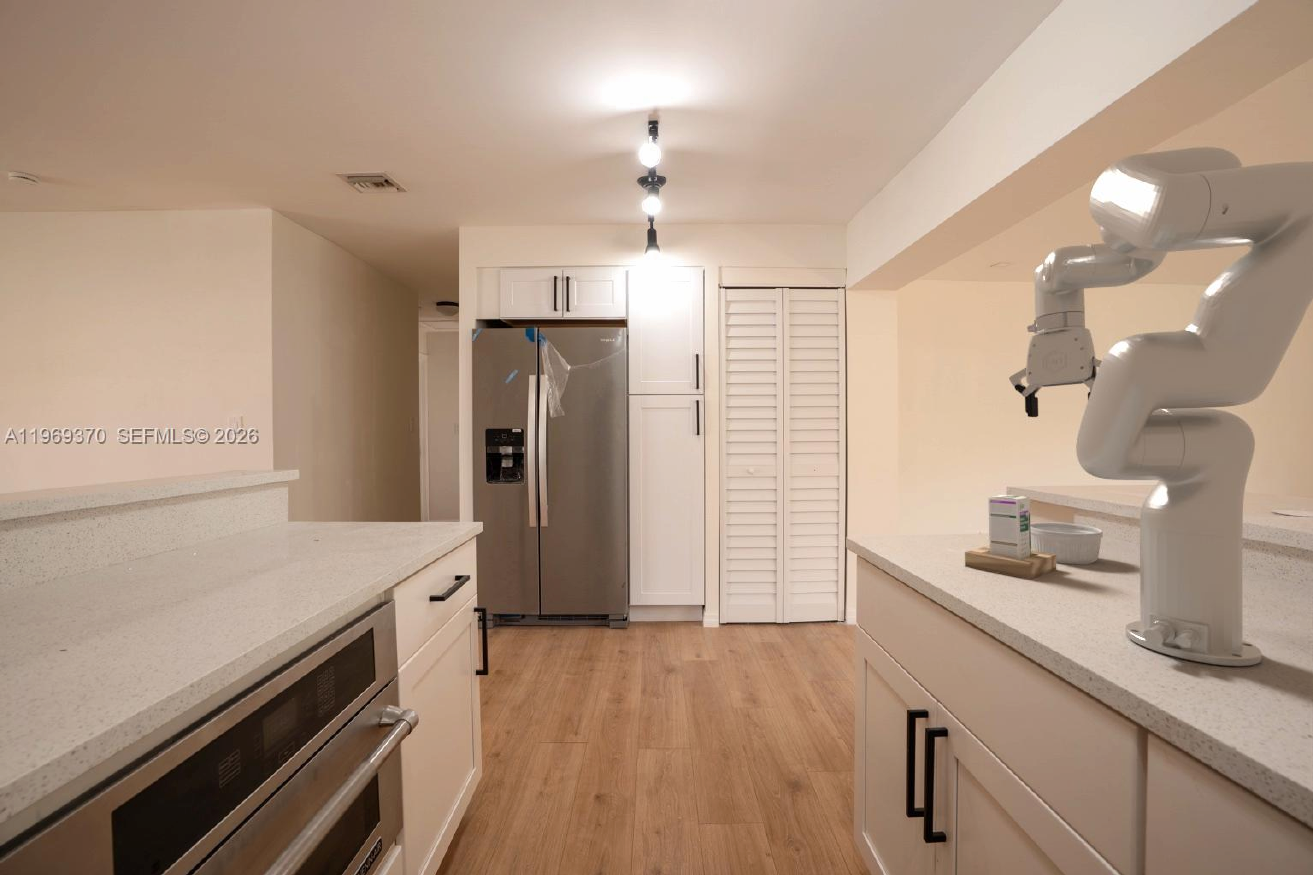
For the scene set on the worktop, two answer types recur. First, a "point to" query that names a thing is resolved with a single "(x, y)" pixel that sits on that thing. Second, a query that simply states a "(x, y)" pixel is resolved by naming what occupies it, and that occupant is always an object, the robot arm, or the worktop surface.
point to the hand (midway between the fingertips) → (1062, 415)
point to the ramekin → (1067, 541)
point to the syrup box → (1010, 526)
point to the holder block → (1011, 563)
